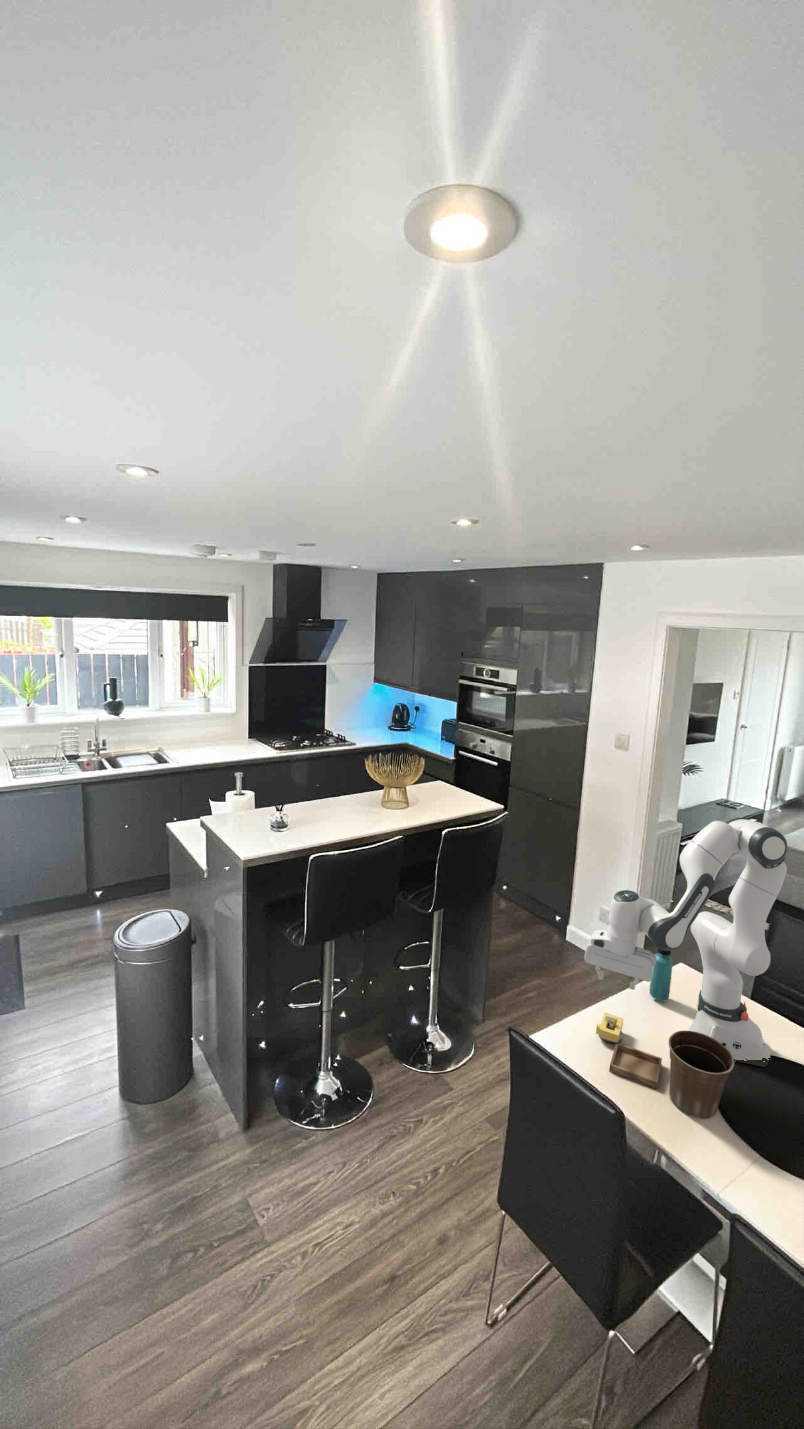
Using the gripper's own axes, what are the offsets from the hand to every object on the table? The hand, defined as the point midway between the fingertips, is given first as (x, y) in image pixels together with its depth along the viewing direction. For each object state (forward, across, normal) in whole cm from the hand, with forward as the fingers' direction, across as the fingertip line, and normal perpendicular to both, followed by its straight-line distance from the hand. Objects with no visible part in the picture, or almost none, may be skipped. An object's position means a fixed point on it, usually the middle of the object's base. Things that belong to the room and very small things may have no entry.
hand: (616, 983), depth 192 cm
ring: (+17, 0, 0) cm, 17 cm away
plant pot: (+19, -25, +15) cm, 35 cm away
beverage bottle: (+19, -11, -29) cm, 36 cm away
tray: (+19, -9, +10) cm, 23 cm away
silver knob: (+19, 0, 0) cm, 19 cm away
